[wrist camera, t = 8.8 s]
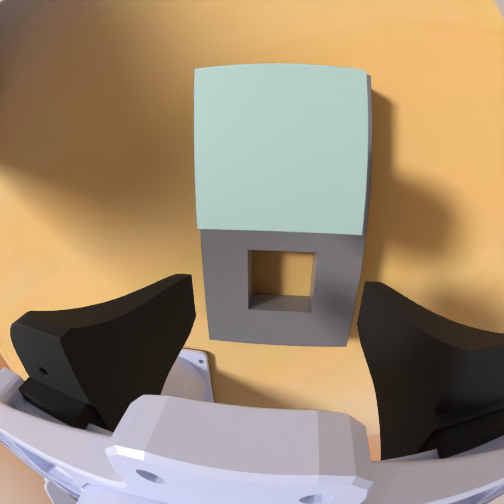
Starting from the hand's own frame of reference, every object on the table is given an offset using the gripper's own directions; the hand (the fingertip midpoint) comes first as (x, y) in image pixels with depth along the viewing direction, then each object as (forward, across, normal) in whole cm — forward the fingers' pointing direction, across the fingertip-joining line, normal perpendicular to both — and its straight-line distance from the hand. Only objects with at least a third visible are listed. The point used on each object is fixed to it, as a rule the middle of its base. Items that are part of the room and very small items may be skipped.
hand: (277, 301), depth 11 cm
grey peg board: (+8, 0, -2) cm, 8 cm away
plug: (+3, 0, -6) cm, 7 cm away
